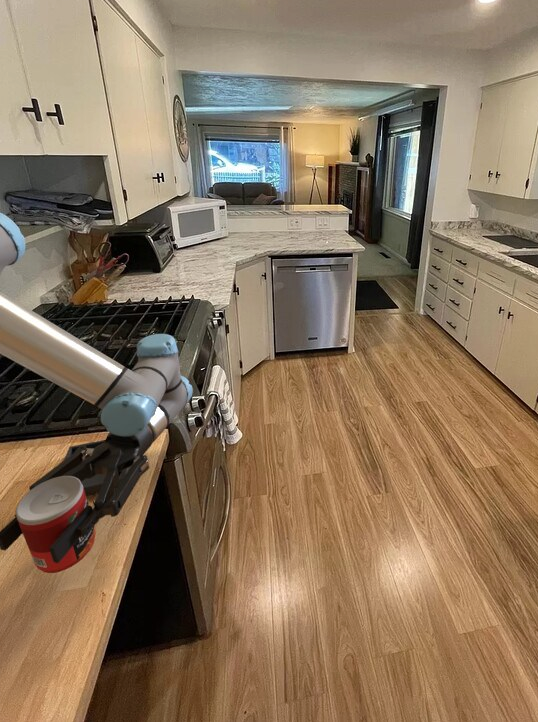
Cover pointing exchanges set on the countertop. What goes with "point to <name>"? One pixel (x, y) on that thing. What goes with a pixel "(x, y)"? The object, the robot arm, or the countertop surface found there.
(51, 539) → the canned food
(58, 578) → the countertop surface
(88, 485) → the tray
